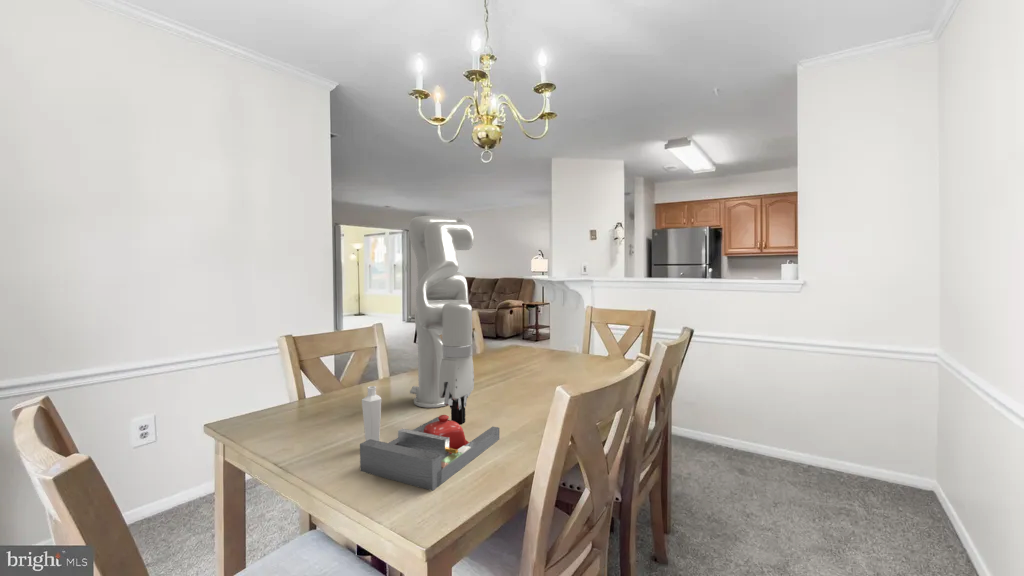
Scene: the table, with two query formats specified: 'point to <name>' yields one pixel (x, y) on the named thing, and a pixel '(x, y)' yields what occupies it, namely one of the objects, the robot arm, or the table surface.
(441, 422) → the butter dish
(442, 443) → the brushed metal plate
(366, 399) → the perfume bottle
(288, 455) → the table surface
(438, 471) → the grey open box
